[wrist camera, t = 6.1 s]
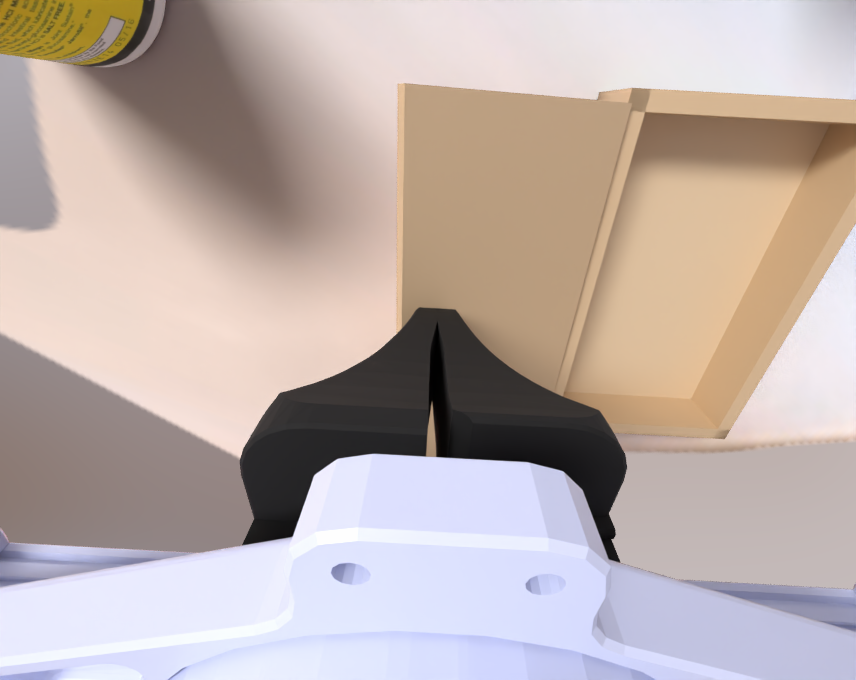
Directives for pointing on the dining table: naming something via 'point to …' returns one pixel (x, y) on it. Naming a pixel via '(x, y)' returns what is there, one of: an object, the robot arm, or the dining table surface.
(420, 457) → the robot arm
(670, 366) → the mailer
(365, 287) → the dining table surface
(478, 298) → the lid
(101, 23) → the pill bottle
